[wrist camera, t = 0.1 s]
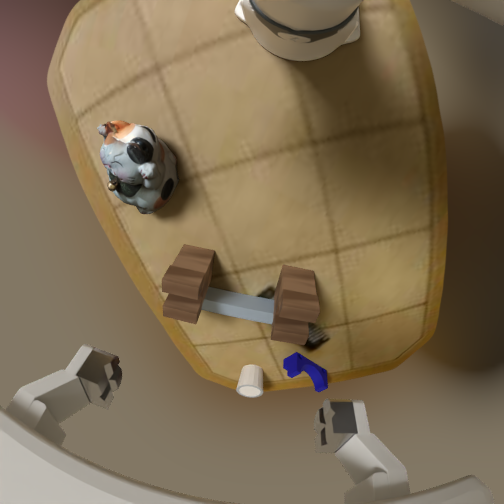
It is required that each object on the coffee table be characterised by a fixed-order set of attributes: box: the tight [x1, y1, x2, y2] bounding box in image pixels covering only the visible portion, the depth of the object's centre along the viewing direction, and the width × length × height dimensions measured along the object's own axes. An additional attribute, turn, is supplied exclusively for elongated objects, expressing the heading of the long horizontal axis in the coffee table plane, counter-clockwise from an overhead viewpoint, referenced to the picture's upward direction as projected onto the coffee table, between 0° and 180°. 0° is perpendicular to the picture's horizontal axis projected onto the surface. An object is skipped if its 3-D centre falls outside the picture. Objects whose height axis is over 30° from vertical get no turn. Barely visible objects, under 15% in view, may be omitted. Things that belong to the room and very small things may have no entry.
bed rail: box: [201, 287, 274, 324], centre depth 57 cm, size 3×24×4 cm, turn 80°
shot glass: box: [237, 365, 263, 397], centre depth 69 cm, size 7×7×7 cm
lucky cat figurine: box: [97, 121, 179, 214], centre depth 39 cm, size 15×12×14 cm
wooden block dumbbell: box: [162, 244, 320, 345], centre depth 50 cm, size 8×25×12 cm, turn 80°
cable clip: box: [283, 352, 328, 392], centre depth 66 cm, size 12×4×6 cm, turn 49°
